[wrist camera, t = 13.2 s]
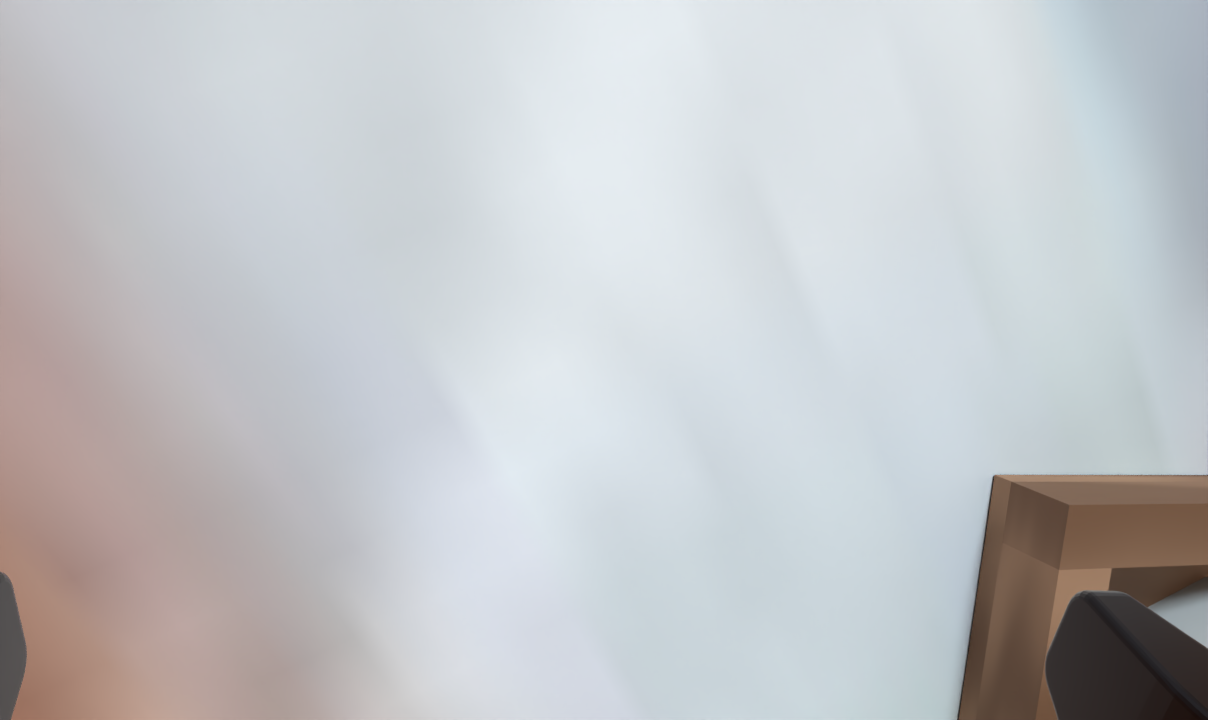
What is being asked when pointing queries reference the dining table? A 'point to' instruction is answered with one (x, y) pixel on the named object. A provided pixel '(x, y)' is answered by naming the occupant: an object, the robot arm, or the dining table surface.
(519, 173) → the dining table surface
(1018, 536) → the square holder
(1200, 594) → the peg block
